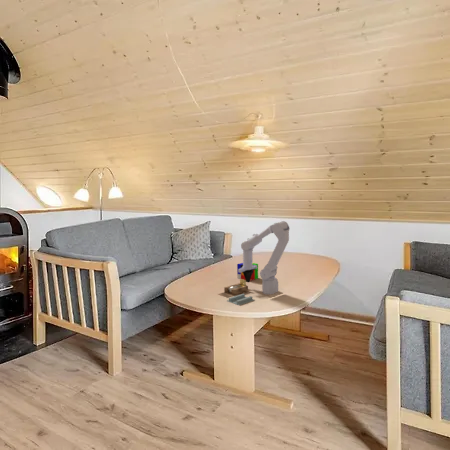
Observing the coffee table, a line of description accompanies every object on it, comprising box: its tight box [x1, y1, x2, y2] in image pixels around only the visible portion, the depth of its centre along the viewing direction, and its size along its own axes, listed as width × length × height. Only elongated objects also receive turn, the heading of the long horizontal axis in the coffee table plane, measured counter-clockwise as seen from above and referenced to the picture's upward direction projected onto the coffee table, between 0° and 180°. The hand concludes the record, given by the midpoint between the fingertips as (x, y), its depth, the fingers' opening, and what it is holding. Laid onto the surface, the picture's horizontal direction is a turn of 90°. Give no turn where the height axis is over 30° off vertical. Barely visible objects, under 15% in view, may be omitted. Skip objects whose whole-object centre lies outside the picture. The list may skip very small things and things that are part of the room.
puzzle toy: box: [236, 262, 259, 281], centre depth 251 cm, size 10×10×10 cm
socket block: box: [217, 282, 253, 299], centre depth 219 cm, size 20×9×4 cm, turn 132°
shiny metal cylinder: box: [228, 285, 242, 294], centre depth 219 cm, size 8×4×4 cm, turn 132°
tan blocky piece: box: [239, 279, 247, 286], centre depth 223 cm, size 3×4×6 cm
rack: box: [226, 293, 255, 306], centre depth 205 cm, size 12×10×3 cm
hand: (247, 281), depth 226 cm, fingers closed
